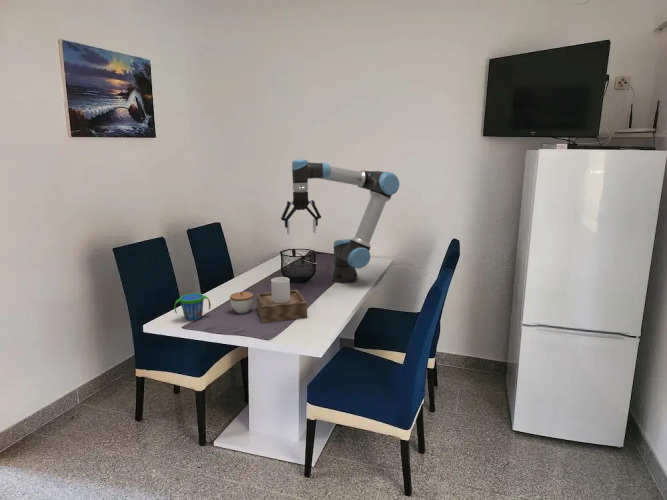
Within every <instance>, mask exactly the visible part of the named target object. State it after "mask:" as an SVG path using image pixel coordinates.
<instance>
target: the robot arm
mask: <svg viewBox="0 0 667 500" xmlns="http://www.w3.org/2000/svg"><path fill="white" fill-rule="evenodd" d="M291 168H292V169H291V171H292V172H291V173H292V191H293V192H292V201H289V200H287V201H286V207H285V208H284V211H283V213H282V214H281V218H280V219H281V221H284V227H285V229H286V233H287V235H290V233H291V232H290V221H289V220H290V218H291V217H292V216H293V215H294V213H295V212H297V211H301V210H302V211H305V210H307V212H308V213H309V214H310V215H311V217H312V218H314V219H312V228H313V229H312V231H313V233H314V234H316V233H317V227H318V225H319V224H318V223H319V222H318V221H319V219H321V218H322V216H321V214H320V212H319V210H318V208H317V206H316V203H315V202H316V201H315V200H314V199H313V200H309V192H308V190H309V181H308V179H309V180H311V179H320V180H325V181H331V182H336V183H342V184H348V185H353V186H357V187H358V188H360V189H364V190H368V191H369V194H370V197H369V200H368V203H367V205H366V207H365V208H366V209H364V213H363V214H362V218H361V221H360V222H359V225H358V228H357V231H356V232H355V235H354V237H352V238H349V239H348V238H347V239H337V240H335V241H334V242H333V263H334V264H333V268H332V271H331V272H332V273H331V277H330V279H331V281H332V282H335V283H339V282H340V284H341V283H343V284H345V283H346V284H348V282H349V283H355V282H356V280H357V281H358V279H359V275H358V273H357V269H362V268H365V267H366V266H367V265H368V264H369V263H370V260H371V253H370V250H371V244H370V242H371V240H372V239H373V235H374V233H375V230H376V228H377V225H378V223H379V221H380V218H381V215H382V213H383V210H384V207H385V205H386V203H387V202H389V201H391V199H392V196H393V195H395V194H396V193H397V192H398V191H399V188H400V180H399V178H398V176H397V175H396V174H395V173H393V172H390V171H379V170H371V171H370V170H364V169H363V170H359V171H358V170H352V169H346V168H342V167H336V166H330V164H329V163H326V162H310V161H308V160H307V159H293V161H292V165H291ZM309 205H311V207H312V208H313V210H314V212H315V213H314V212H313V211H312V209H310V207H308V206H309ZM291 206H293V207H292V209H291V210H290V211H289V209H290V207H291ZM288 212H289V213H288Z"/></svg>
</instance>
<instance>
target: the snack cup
mask: <svg viewBox="0 0 667 500" xmlns="http://www.w3.org/2000/svg"><path fill="white" fill-rule="evenodd" d="M205 299H206V300H207V301H208V310H211V307H212V305H211V301H210V298H209V297H208V296H207V295H204V294H202V293H195V292H194V293H186V294H183V295H182V296H180V297H179V298H177V299H176V301H175V302H174V305H173V307H174V308H173V309H174V313H175V314H177V309H176V305H177V304H178V303H180V305H181V308H182V311H183V315H184V319H185V320H187V321H191V322H192V321H197V320H200V319H202V317H203V314H204V313H203V312H204V309H203V308H204V300H205Z"/></svg>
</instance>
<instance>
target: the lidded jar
mask: <svg viewBox="0 0 667 500" xmlns="http://www.w3.org/2000/svg"><path fill="white" fill-rule="evenodd" d="M229 301H230V306H231V308H232V309H233V310H234V311H235V312H236V313H237V314H245V313H248V312H250V310H251V309H252V307H253V305H254V293H252V292H249V291H238V292H234V293H233V292H232V293H231V294H230V295H229Z"/></svg>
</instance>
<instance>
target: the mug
mask: <svg viewBox="0 0 667 500" xmlns="http://www.w3.org/2000/svg"><path fill="white" fill-rule="evenodd" d="M270 281H271V282H270V283H271V284H270V285H271V287H270V288H271V289H270V290H271V292H272V301H273V302H274V303H276V304H284V303H288V302H289V301H290V290H291V286H290V285H291V283H290V278H288V277H286V276H279V277H273V278H271V280H270Z"/></svg>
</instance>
